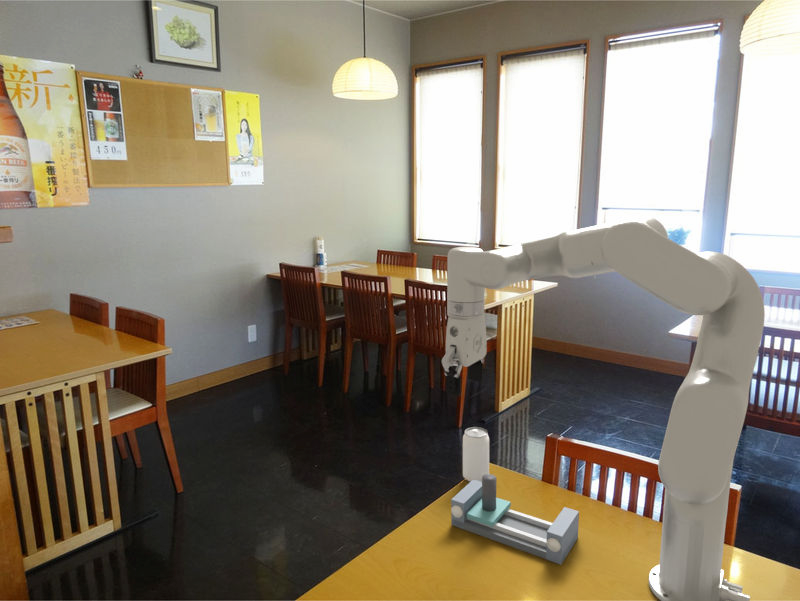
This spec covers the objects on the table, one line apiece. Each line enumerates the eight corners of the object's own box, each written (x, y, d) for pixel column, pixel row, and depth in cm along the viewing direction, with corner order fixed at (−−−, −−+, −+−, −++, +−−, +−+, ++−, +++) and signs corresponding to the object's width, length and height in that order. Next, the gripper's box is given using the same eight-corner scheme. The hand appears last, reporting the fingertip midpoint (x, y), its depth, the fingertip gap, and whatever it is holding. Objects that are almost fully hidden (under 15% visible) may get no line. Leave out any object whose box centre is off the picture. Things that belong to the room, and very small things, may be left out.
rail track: (577, 537, 116) (578, 511, 115) (560, 565, 108) (561, 537, 106) (473, 503, 129) (473, 479, 128) (450, 525, 121) (450, 500, 120)
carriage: (510, 506, 123) (511, 472, 122) (492, 526, 116) (492, 491, 114) (485, 498, 127) (485, 465, 125) (466, 517, 119) (466, 483, 118)
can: (488, 470, 144) (488, 426, 141) (489, 483, 138) (490, 438, 135) (462, 470, 145) (462, 426, 142) (462, 483, 138) (462, 437, 136)
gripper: (461, 318, 107) (460, 404, 110) (500, 302, 120) (498, 378, 124) (427, 314, 111) (427, 396, 114) (469, 298, 125) (468, 372, 128)
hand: (464, 387), depth 119 cm, fingers open, 9 cm apart
